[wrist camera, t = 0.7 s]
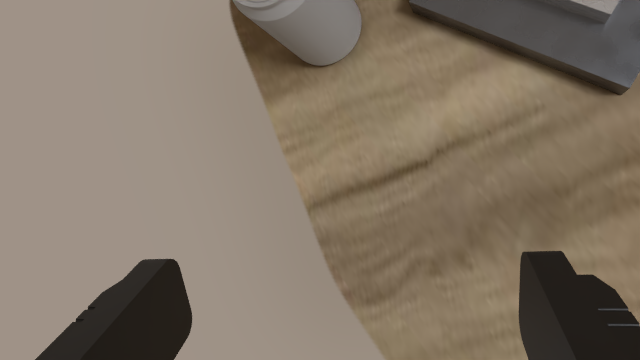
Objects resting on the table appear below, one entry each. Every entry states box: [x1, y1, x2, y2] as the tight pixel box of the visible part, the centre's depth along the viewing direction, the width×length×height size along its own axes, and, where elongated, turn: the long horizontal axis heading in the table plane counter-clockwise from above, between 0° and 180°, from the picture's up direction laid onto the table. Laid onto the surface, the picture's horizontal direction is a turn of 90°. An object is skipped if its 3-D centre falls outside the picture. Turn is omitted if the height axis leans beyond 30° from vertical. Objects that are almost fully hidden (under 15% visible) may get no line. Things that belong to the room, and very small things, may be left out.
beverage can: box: [233, 0, 361, 66], centre depth 33 cm, size 6×6×12 cm
